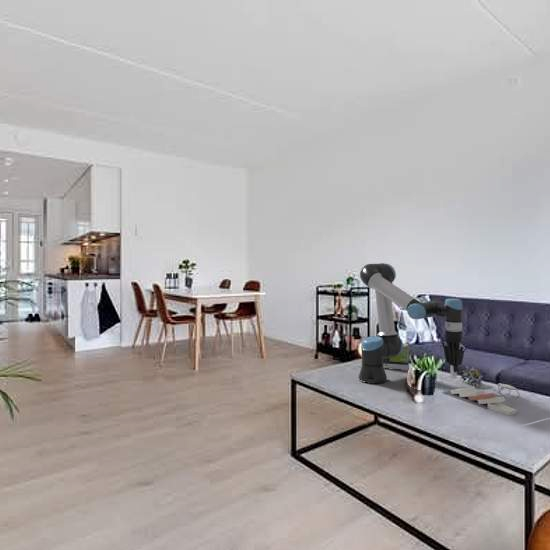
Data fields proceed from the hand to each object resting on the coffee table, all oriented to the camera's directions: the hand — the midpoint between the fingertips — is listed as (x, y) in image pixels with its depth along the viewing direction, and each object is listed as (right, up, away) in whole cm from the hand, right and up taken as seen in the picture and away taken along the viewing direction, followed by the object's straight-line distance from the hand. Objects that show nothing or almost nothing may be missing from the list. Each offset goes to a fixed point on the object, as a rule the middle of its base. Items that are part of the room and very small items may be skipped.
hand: (453, 378), depth 197 cm
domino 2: (+2, -7, -5) cm, 9 cm away
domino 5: (+8, -7, -19) cm, 22 cm away
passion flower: (+15, -7, +14) cm, 22 cm away
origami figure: (+24, -8, -5) cm, 25 cm away
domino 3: (+5, -7, -10) cm, 13 cm away
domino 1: (0, -7, 0) cm, 7 cm away
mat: (+4, -8, -8) cm, 12 cm away
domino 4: (+7, -7, -14) cm, 17 cm away
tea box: (-14, -7, +49) cm, 52 cm away
